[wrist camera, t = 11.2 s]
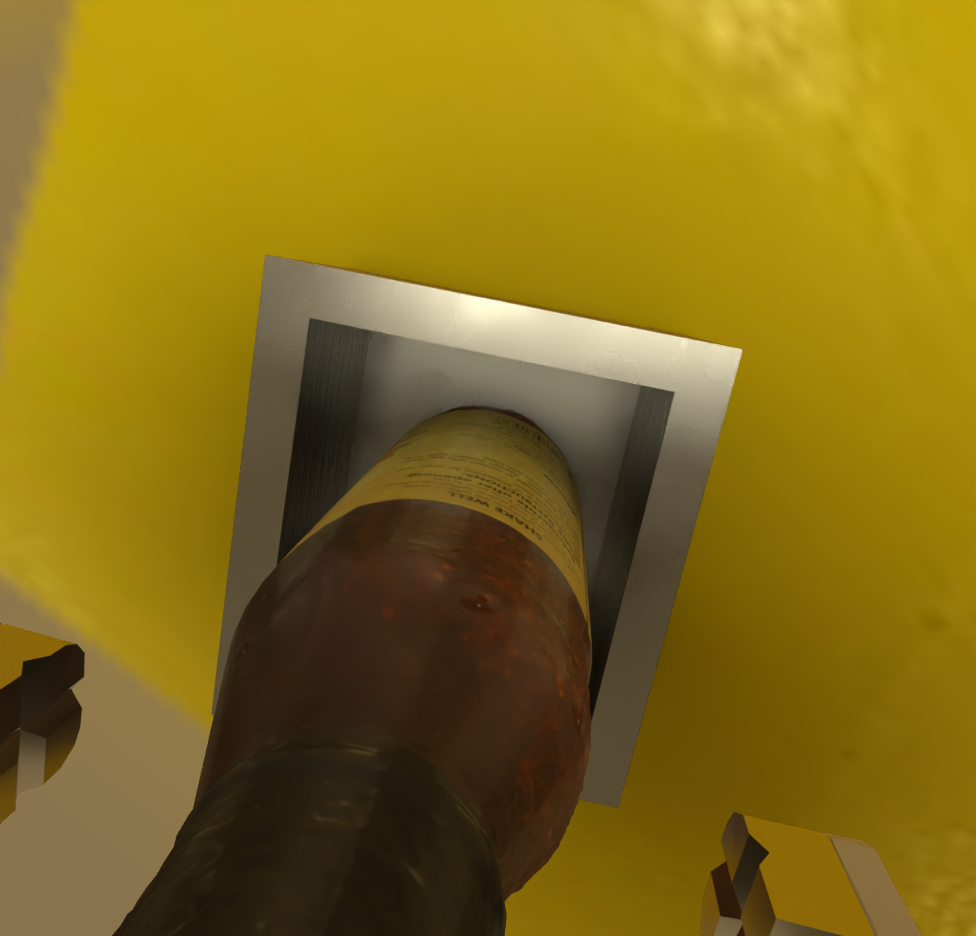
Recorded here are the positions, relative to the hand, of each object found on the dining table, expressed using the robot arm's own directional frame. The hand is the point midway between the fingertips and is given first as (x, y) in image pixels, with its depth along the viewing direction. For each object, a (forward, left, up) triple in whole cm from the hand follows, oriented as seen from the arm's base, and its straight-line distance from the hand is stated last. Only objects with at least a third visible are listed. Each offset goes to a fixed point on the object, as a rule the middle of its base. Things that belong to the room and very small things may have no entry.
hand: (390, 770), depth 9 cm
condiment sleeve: (0, 0, -16) cm, 16 cm away
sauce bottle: (0, +1, -15) cm, 15 cm away
